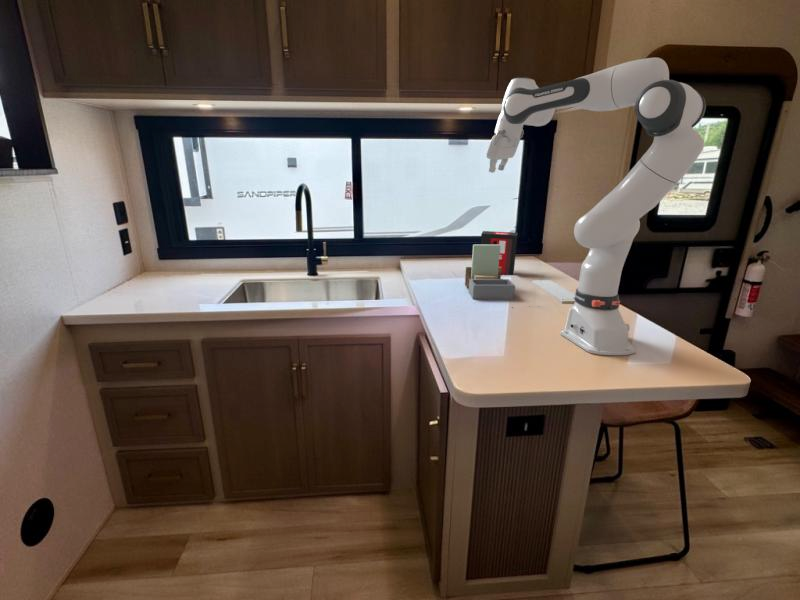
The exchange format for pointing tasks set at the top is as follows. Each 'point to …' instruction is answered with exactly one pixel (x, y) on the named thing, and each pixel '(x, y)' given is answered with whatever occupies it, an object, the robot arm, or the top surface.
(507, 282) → the bin
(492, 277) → the offcut upper
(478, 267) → the sheet
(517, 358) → the top surface
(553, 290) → the baseboard molding
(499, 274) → the rack
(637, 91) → the robot arm
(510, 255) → the cleaning product box
